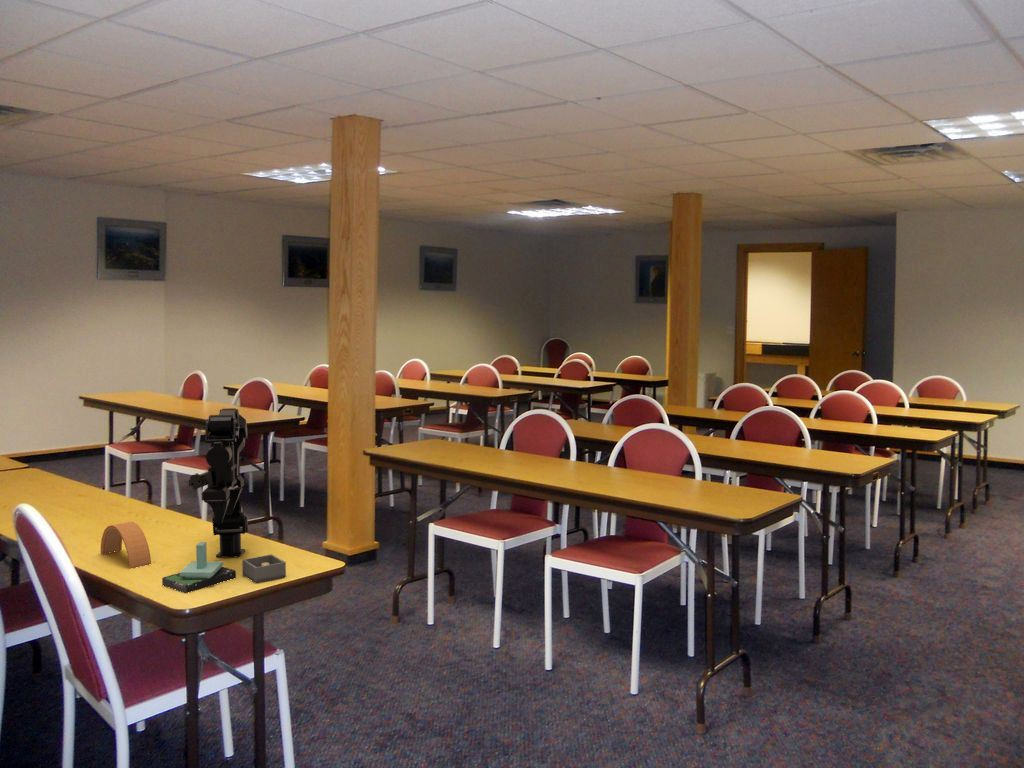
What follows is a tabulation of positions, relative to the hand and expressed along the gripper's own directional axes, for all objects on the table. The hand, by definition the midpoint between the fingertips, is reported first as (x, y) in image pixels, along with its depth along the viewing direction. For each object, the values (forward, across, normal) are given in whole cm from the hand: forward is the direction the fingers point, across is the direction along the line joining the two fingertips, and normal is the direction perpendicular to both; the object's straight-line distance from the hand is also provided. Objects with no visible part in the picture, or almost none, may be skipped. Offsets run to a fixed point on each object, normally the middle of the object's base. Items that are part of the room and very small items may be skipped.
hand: (224, 519), depth 232 cm
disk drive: (+14, +12, -3) cm, 19 cm away
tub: (+13, +8, +12) cm, 19 cm away
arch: (+13, -9, -30) cm, 34 cm away
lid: (+11, +12, -3) cm, 16 cm away
